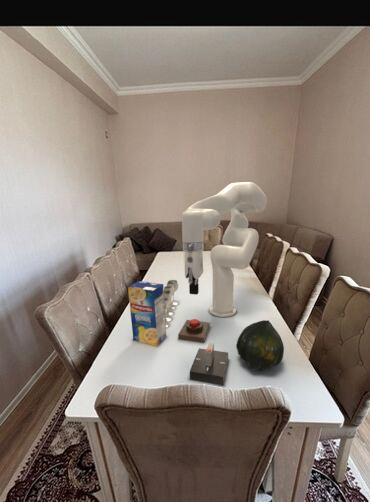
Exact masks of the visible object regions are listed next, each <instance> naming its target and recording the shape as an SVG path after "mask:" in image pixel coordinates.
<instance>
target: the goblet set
mask: <svg viewBox="0 0 370 502" xmlns="http://www.w3.org/2000/svg"><path fill="white" fill-rule="evenodd" d="M163 287H164V304H165V322H166V329H167V328H168V327H169V323H167V322H171V321H172V318H171V317H170V316H172V315H174V312H173V311H174V310H175V309H176V307H175V306H177V305H178V304H179V302H178V301H175V299H174V298H175V297H174V296H175V293H176V292H177V291H178V289H179V282H178V281H177V280H176V279H169V280H168V281H167V282H166V285H165V286H163ZM167 310H168V311H167Z"/></svg>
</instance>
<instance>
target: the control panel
mask: <svg viewBox="0 0 370 502" xmlns="http://www.w3.org/2000/svg"><path fill="white" fill-rule="evenodd" d="M206 350H207V348H201V347H200V348H198V350H197V352H196V355H195V356H194V359H193V362H192V363H191V364H192V365H191V367H190V369H189V380H191V381H197V382H202V383H207V384H212V385H219V386H224V384H225V377H226V374H227V368H228V362H229V352H228V351H220V350H214V358H213V362H212V365H211V366H206Z"/></svg>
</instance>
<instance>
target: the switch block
mask: <svg viewBox="0 0 370 502" xmlns="http://www.w3.org/2000/svg"><path fill="white" fill-rule="evenodd" d="M190 320H191V319H185V322H184V323H183V326H182V327H181V329H180V330H179V333H178V335H177V337H178V338H177V339H178V340H180V341H188V342H194V343H195V342H196V343H202V344H203V343H205V342H206V338H207V336H208V334H209V331H210V328H211V322H208V321H200V320H199V326H197V327H192V326H190Z"/></svg>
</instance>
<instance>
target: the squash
mask: <svg viewBox="0 0 370 502" xmlns="http://www.w3.org/2000/svg"><path fill="white" fill-rule="evenodd" d="M235 349H236V351H237V355H238V356H239V357H240V359H241V360H242V361H243V362H245V363H247V365H248V367H249V369H251V370H253V371H256V370H263V371H264V372H265V371H269V370H270V369H272V368H273V367H277V366H278V365H279V364H280V363H282V360H283V358H284V351H285V347H284V342H283V339H282V337H281V335H280V334H279V332H278V331H277V329H276V328H275V327H274V325H273V323H271V321H270V320H265V319H264V320H260V321H256V322H253V323H251V324H249V325H247V326H246V327H244V329H242V331H241V333H240V334H239V336H238V337H237V341H236V345H235Z"/></svg>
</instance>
